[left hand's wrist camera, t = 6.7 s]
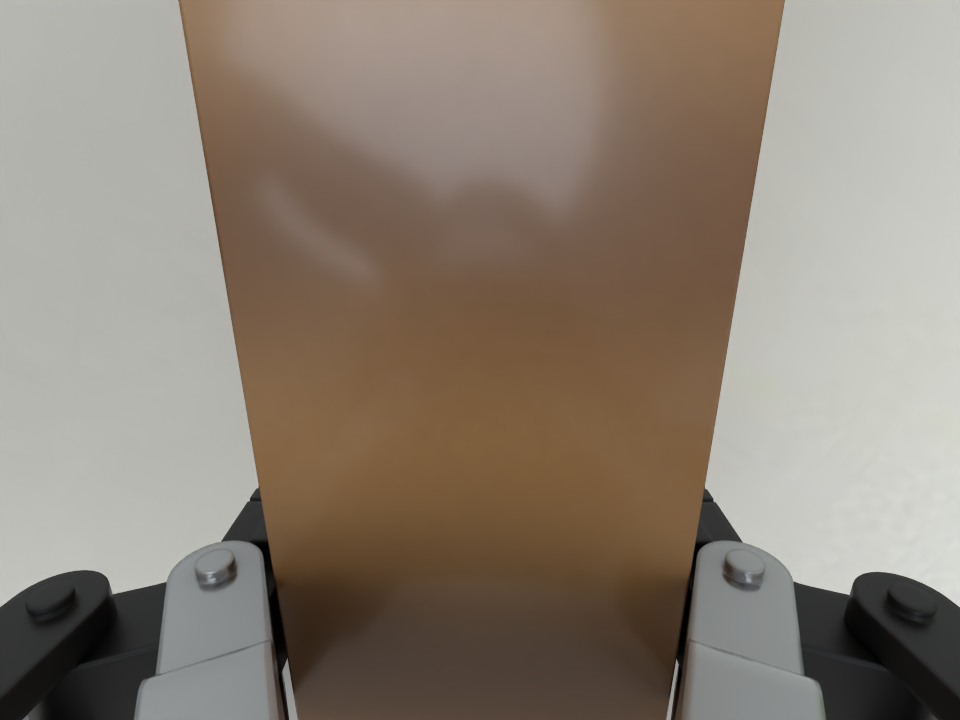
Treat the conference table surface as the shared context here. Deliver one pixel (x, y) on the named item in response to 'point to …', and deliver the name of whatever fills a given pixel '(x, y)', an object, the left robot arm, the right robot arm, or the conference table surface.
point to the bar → (481, 330)
